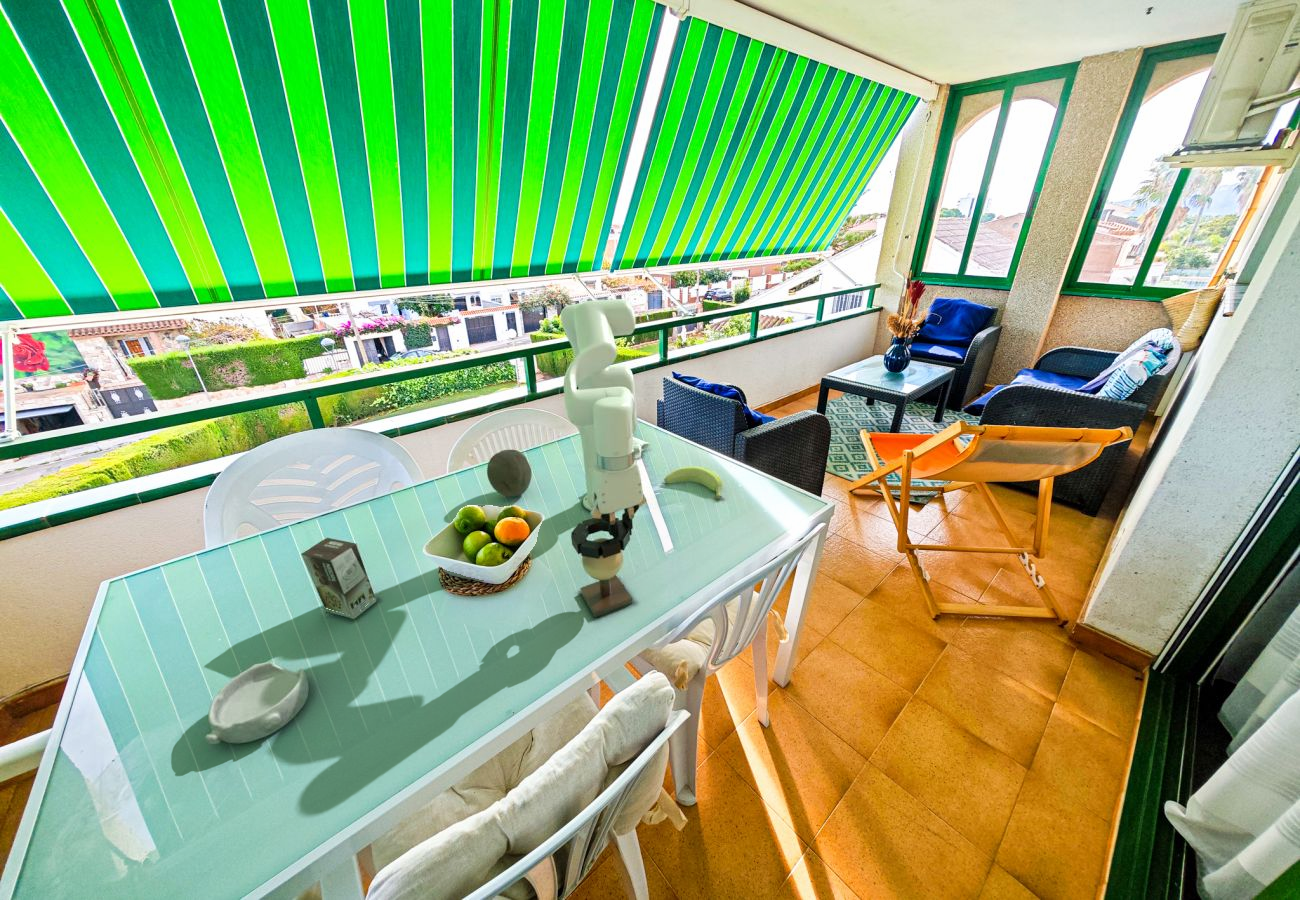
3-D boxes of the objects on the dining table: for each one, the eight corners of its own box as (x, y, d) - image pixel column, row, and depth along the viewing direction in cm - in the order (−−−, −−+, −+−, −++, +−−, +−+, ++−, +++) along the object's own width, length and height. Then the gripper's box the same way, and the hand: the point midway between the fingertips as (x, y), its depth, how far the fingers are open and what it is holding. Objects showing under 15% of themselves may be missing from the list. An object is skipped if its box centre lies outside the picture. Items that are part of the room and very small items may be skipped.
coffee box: (378, 600, 106) (357, 543, 100) (353, 620, 101) (330, 561, 94) (349, 592, 109) (327, 536, 103) (324, 611, 104) (299, 553, 97)
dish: (253, 679, 88) (243, 660, 85) (328, 672, 88) (320, 654, 86) (190, 756, 74) (176, 736, 72) (280, 747, 75) (268, 727, 73)
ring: (566, 535, 100) (564, 526, 100) (615, 520, 105) (614, 511, 104) (585, 564, 91) (583, 555, 90) (638, 546, 96) (637, 537, 95)
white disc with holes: (655, 451, 178) (626, 463, 169) (625, 438, 190) (597, 449, 181) (655, 443, 176) (626, 454, 167) (625, 431, 188) (596, 441, 180)
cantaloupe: (544, 489, 152) (538, 448, 146) (511, 509, 142) (503, 465, 135) (514, 479, 159) (507, 440, 153) (481, 497, 149) (472, 456, 143)
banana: (693, 454, 157) (733, 482, 143) (695, 466, 160) (734, 495, 146) (661, 473, 152) (699, 505, 138) (664, 485, 155) (701, 517, 141)
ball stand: (580, 592, 107) (574, 537, 100) (616, 579, 110) (611, 525, 104) (595, 617, 99) (589, 560, 93) (632, 603, 103) (629, 546, 97)
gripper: (642, 443, 99) (645, 516, 107) (571, 460, 92) (580, 536, 100) (659, 456, 93) (661, 532, 100) (584, 475, 86) (592, 555, 94)
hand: (620, 533), depth 100 cm, fingers closed on ring, 2 cm apart
